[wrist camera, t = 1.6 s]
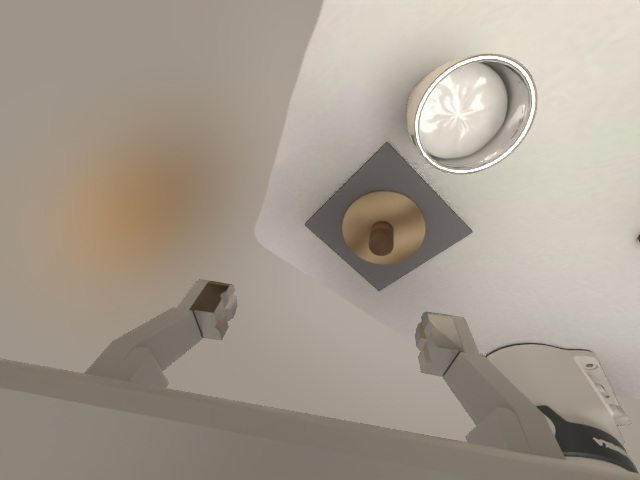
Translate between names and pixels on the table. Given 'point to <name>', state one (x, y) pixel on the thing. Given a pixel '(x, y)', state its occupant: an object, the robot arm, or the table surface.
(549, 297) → the table surface
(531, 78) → the beer glass
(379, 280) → the rubber mat
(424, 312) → the robot arm
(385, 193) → the oak lid
